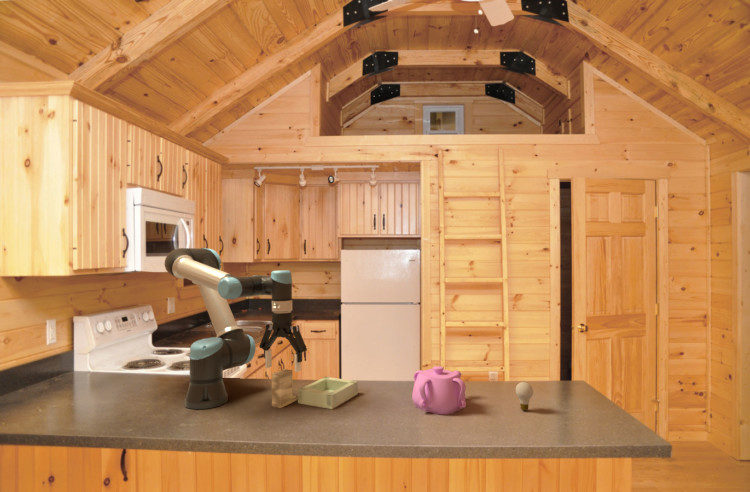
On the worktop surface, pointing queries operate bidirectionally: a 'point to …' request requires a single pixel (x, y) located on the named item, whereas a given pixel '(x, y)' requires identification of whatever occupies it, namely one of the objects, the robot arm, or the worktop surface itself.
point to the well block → (327, 392)
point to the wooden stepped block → (282, 388)
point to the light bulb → (524, 394)
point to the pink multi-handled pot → (439, 391)
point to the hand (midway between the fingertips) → (282, 369)
